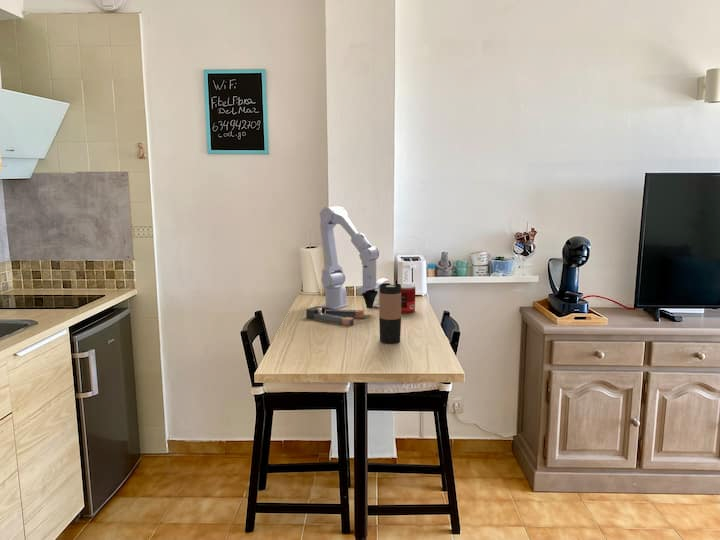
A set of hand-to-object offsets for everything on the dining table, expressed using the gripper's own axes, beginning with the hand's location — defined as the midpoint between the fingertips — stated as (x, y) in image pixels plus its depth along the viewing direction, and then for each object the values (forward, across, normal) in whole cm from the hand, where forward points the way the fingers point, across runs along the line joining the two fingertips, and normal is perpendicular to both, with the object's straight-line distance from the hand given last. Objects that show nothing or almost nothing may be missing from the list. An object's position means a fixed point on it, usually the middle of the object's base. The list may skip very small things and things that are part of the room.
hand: (369, 307), depth 233 cm
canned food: (+3, +13, -10) cm, 17 cm away
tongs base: (+3, -17, +6) cm, 18 cm away
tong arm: (+2, -10, +5) cm, 12 cm away
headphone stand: (+3, +14, +4) cm, 15 cm away
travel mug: (+3, -27, -28) cm, 39 cm away
